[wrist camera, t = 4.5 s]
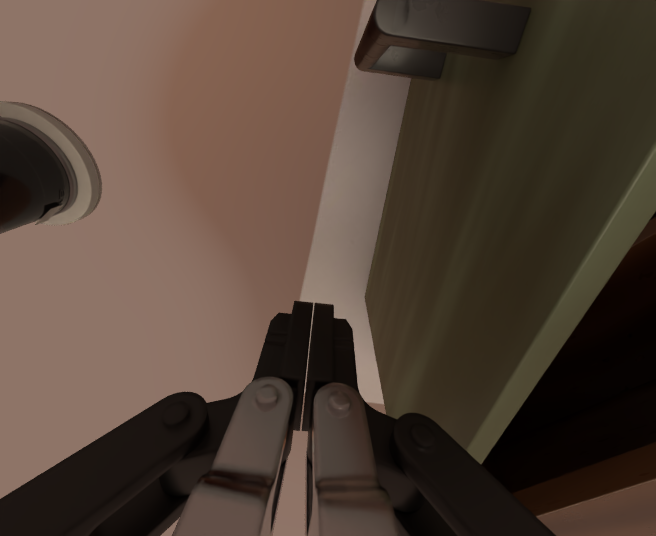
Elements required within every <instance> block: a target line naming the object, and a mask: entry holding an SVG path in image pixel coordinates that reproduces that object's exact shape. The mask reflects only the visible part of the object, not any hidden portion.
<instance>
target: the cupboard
mask: <svg viewBox="0 0 656 536" xmlns="http://www.w3.org/2000/svg"><path fill="white" fill-rule="evenodd" d="M481 465H482V466H483V467H484V468H485V469H486V470H487V471H488V472H489V473H490V474H491V475H492V476H493V477H494V478H496V479H497V480H498V481H499V482H500V483H501V484H502V485H503V486H504V487H505V488H506V489H507V490H508V491H509V492H510V493H511V494H513V495H514V496H515V497H516V498H517V499H518V500H519V501H520V502H521V503H522V504H523V505H524V506H525V507H526V508H527V509H528V510H530V511H531V512H532V513H533V514H534V515H535V516H536V517H537V518H538V519H539V520H540V521H541V522H542V523H543V524H544V525H546V526H547V527H548V528H549V529H550V530H551V531H552V532H553V533H554V534H555V535H556V536H656V212H655V213H654V215H653V216H652V217H651V219H650V220H649V222H648V223H647V225H646V226H645V228H644V229H643V231H642V232H641V233H640V235H639V236H638V238H637V239H636V241H635V242H634V244H633V245H632V246H631V248H630V249H629V251H628V252H627V254H626V255H625V257H624V258H623V260H622V261H621V262H620V264H619V265H618V267H617V268H616V270H615V271H614V273H613V274H612V275H611V277H610V278H609V280H608V281H607V283H606V284H605V286H604V287H603V289H602V290H601V291H600V293H599V294H598V296H597V297H596V299H595V300H594V302H593V303H592V305H591V306H590V307H589V309H588V310H587V312H586V313H585V315H584V316H583V318H582V319H581V320H580V322H579V323H578V325H577V326H576V328H575V329H574V331H573V332H572V334H571V335H570V336H569V338H568V339H567V341H566V342H565V344H564V345H563V347H562V348H561V349H560V351H559V352H558V354H557V355H556V357H555V358H554V360H553V361H552V363H551V364H550V365H549V367H548V368H547V370H546V371H545V373H544V374H543V376H542V377H541V379H540V380H539V381H538V383H537V384H536V386H535V387H534V389H533V390H532V392H531V393H530V394H529V396H528V397H527V399H526V400H525V402H524V403H523V405H522V406H521V408H520V409H519V410H518V412H517V413H516V415H515V416H514V418H513V419H512V421H511V422H510V423H509V425H508V426H507V428H506V429H505V431H504V432H503V434H502V435H501V437H500V438H499V439H498V441H497V442H496V444H495V445H494V447H493V448H492V450H491V451H490V452H489V454H488V455H487V457H486V458H485V460H484V461H483V463H482V464H481Z"/></svg>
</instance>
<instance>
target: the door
mask: <svg viewBox="0 0 656 536" xmlns="http://www.w3.org/2000/svg"><path fill="white" fill-rule="evenodd" d="M354 62H355V65H356V67H357V68H358V69H359V70H360V71H364V72H372V73H379V74H386V75H393V76H400V77H408V78H411V83H410V88H409V92H408V97H407V102H406V106H405V111H404V116H403V121H402V125H401V130H400V135H399V139H398V144H397V149H396V153H395V158H394V163H393V167H392V172H391V177H390V181H389V186H388V191H387V195H386V200H385V205H384V209H383V214H382V219H381V223H380V228H379V233H378V237H377V242H376V247H375V251H374V256H373V261H372V265H371V270H370V275H369V279H368V284H367V289H366V293H365V302H366V307H367V312H368V318H369V323H370V329H371V334H372V339H373V345H374V350H375V356H376V361H377V367H378V372H379V377H380V383H381V388H382V394H383V399H384V404H385V410H386V415H388V416H390V417H393V418H395V419H398V418H399V417H400V416H402V415H403V414H406V413H419V414H422V415H425V416H427V417H429V418H431V419H432V420H434V421H435V422H436V423H437V424H438V425H439V426H440V427H441V428H442V429H443V430H445V431H446V432H447V433H448V434H449V435H450V436H451V437H452V438H453V439H454V440H455V441H456V442H457V443H458V444H459V445H460V446H462V447H463V448H464V449H465V450H466V451H467V452H468V453H469V454H470V455H471V456H472V457H473V458H474V459H475V460H476V461H477V462H479V463H480V464H482V463H483V461H484V460H485V458H486V457H487V455H488V454H489V452H490V451H491V450H492V448H493V447H494V445H495V444H496V442H497V441H498V439H499V438H500V437H501V435H502V434H503V432H504V431H505V429H506V428H507V426H508V425H509V423H510V422H511V421H512V419H513V418H514V416H515V415H516V413H517V412H518V410H519V409H520V408H521V406H522V405H523V403H524V402H525V400H526V399H527V397H528V396H529V394H530V393H531V392H532V390H533V389H534V387H535V386H536V384H537V383H538V381H539V380H540V379H541V377H542V376H543V374H544V373H545V371H546V370H547V368H548V367H549V365H550V364H551V363H552V361H553V360H554V358H555V357H556V355H557V354H558V352H559V351H560V349H561V348H562V347H563V345H564V344H565V342H566V341H567V339H568V338H569V336H570V335H571V334H572V332H573V331H574V329H575V328H576V326H577V325H578V323H579V322H580V320H581V319H582V318H583V316H584V315H585V313H586V312H587V310H588V309H589V307H590V306H591V305H592V303H593V302H594V300H595V299H596V297H597V296H598V294H599V293H600V291H601V290H602V289H603V287H604V286H605V284H606V283H607V281H608V280H609V278H610V277H611V275H612V274H613V273H614V271H615V270H616V268H617V267H618V265H619V264H620V262H621V261H622V260H623V258H624V257H625V255H626V254H627V252H628V251H629V249H630V248H631V246H632V245H633V244H634V242H635V241H636V239H637V238H638V236H639V235H640V233H641V232H642V231H643V229H644V228H645V226H646V225H647V223H648V222H649V220H650V219H651V217H652V216H653V215H654V213H655V212H656V0H377V1H376V3H375V6H374V8H373V11H372V13H371V16H370V18H369V21H368V23H367V26H366V28H365V31H364V33H363V36H362V38H361V41H360V43H359V46H358V48H357V51H356V53H355V57H354Z"/></svg>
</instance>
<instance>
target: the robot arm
mask: <svg viewBox="0 0 656 536" xmlns="http://www.w3.org/2000/svg"><path fill="white" fill-rule="evenodd" d="M77 194H78V183H77V178H76V174H75V171H74V169H73V167H72V165H71V163H70V161H69V159H68V158H67V156H66V155H65V154H64V152H63V151H62V150H61V148H60V147H59V146H58V145H57V144H56V143H55V142H54V141H53V140H52V139H51V138H50V137H48V136H47V135H46V134H45V133H43V132H42V131H40V130H39V129H37V128H36V127H34V126H32V125H30V124H28V123H26V122H23V121H20V120H17V119H13V118H7V117H1V116H0V234H1V233H4V232H6V231H9V230H12V229H15V228H17V227H20V226H23V225H26V224H29V223H32V222H35V221H37V220H39V221H38V222H37V223H36V224H35V225H37V224H39V223H42V222H45V221H47V220H49V219H50V218H51V217H52V216H54V215H57V214H60V213H62V212H65V211H67V210H68V209H69V208H70V207H71V206H72V205H73V204H74V202H75V200H76V198H77ZM312 310H313V303H311V302H301V301H294V305H293V310H292V314H287V313H278V314H277V315H276V316H275V317H274V318H273V319H272V320H271V322H270V325H269V329H268V333H267V335H266V338H265V343H264V345H263V348H262V352H261V356H260V359H259V362H258V365H257V368H256V372H255V375H254V378H253V380H252V382H251V383H250V384H249V385H247V386H246V388H245V389H244V390H243V392H241V393H240V394H238V395H236V396H234V397H231V398H228V399H224V400H219V401H214V402H210V403H206V401H205V400H204V398H202V397H201V396H200V395H198V394H196V393H193V392H180V393H175V394H172V395H170V396H167V397H166V398H164V399H162V400H160V401H159V402H157V403H156V404H154V405H152V406H151V407H149V408H147V409H146V410H144V411H143V412H141V413H139V414H138V415H136V416H134V417H133V418H131V419H130V420H128V421H126V422H125V423H123V424H121V425H120V426H118V427H116V428H115V429H113V430H112V431H110V432H108V433H107V434H105V435H104V436H102V437H100V438H99V439H97V440H95V441H94V442H92V443H91V444H89V445H87V446H86V447H84V448H82V449H81V450H79V451H78V452H76V453H74V454H73V455H71V456H70V457H68V458H66V459H64V460H63V461H61V462H60V463H58V464H56V465H55V466H53V467H52V468H50V469H48V470H47V471H45V472H44V473H42V474H40V475H38V476H37V477H35V478H34V479H32V480H30V481H29V482H27V483H25V484H24V485H22V486H21V487H19V488H18V489H16V490H14V491H12V492H11V493H9V494H8V495H6V496H4V497H3V498H1V499H0V536H160V535H161V534H162V533H164V532H165V531H166V530H167V529H168V528H169V527H170V526H171V525H172V524H173V523H174V522H175V521H176V520H177V519H178V518H179V517H180V519H179V521H178V523H177V525H176V528H175V530H174V532H173V534H172V536H272V535H273V530H274V525H275V520H276V515H277V510H278V505H279V499H280V495H281V490H282V485H283V480H284V475H285V469H286V465H287V460H288V455H289V453H290V450H291V444H292V436H293V430H297V431H299V430H300V422H301V414H302V405H303V395H304V388H305V379H306V369H307V359H308V349H309V339H310V329H311V320H312ZM302 431H308V444H307V452H306V470H305V480H306V482H305V536H556V535H555V534H554V533H553V532H552V531H551V530H550V529H549V528H548V527H547V526H546V525H544V524H543V523H542V522H541V521H540V520H539V519H538V518H537V517H536V516H535V515H534V514H533V513H532V512H531V511H530V510H528V509H527V508H526V507H525V506H524V505H523V504H522V503H521V502H520V501H519V500H518V499H517V498H516V497H515V496H514V495H513V494H511V493H510V492H509V491H508V490H507V489H506V488H505V487H504V486H503V485H502V484H501V483H500V482H499V481H498V480H497V479H496V478H494V477H493V476H492V475H491V474H490V473H489V472H488V471H487V470H486V469H485V468H484V467H483V466H482V465H481V464H480V463H479V462H477V461H476V460H475V459H474V458H473V457H472V456H471V455H470V454H469V453H468V452H467V451H466V450H465V449H464V448H463V447H462V446H460V445H459V444H458V443H457V442H456V441H455V440H454V439H453V438H452V437H451V436H450V435H449V434H448V433H447V432H446V431H445V430H443V429H442V428H441V427H440V426H439V425H438V424H437V423H436V422H435V421H434V420H432V419H431V418H429V417H427V416H425V415H422V414H419V413H406V414H403V415H402V416H400V417H399V418H398V419H395V418H393V417H390V416H388V415H385V414H383V413H381V412H378V411H376V410H375V409H373V408H372V407H370V406H369V405H368V404H367V403H366V402H365V401H364V399H363V398H362V397H361V395H360V393H359V390H358V384H357V374H356V363H355V352H354V342H353V331H352V328H351V326H350V325H349V323H348V322H347V320H346V319H337V318H334V305H331V304H321V303H315V306H314V314H313V323H312V332H311V341H310V351H309V361H308V371H307V382H306V392H305V403H304V413H303V424H302Z"/></svg>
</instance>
